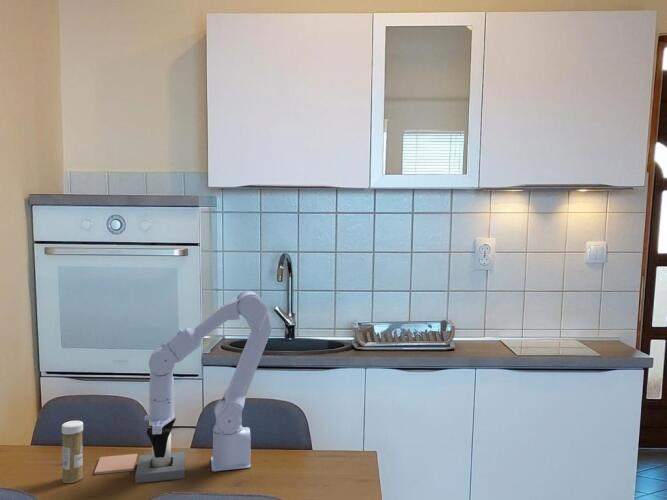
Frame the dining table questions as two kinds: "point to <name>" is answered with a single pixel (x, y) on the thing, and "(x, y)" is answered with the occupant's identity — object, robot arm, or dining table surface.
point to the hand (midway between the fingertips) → (161, 452)
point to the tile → (116, 464)
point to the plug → (164, 460)
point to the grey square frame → (160, 469)
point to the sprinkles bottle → (72, 451)
